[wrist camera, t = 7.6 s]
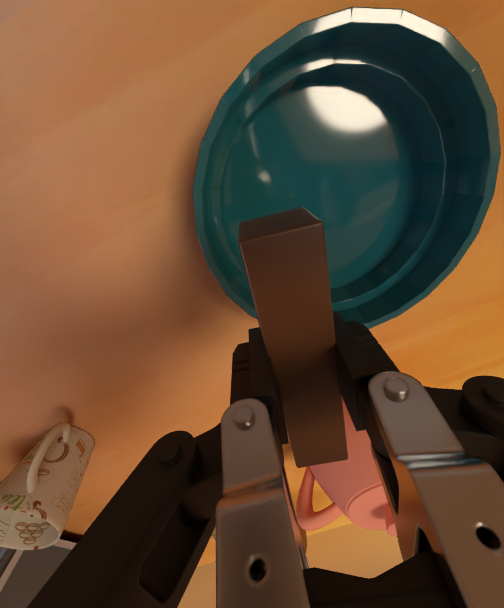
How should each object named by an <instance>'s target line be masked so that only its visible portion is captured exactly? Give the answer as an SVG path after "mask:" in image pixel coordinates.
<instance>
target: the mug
mask: <svg viewBox="0 0 504 608" xmlns="http://www.w3.org/2000/svg"><path fill="white" fill-rule="evenodd" d="M93 448H94V440H93V438H92V437H91V436H90V435H89V434H88V433H87V432H85V431H83V430H81V429H79V428H76V427H72V426H71V425H70V424H69V423H67V422H60V423H58V424H57V425H55V426H54V427H53V428H52V429H51V430H49V431H48V432H47V433H46V434H45V435H44V437H43V438H42V439H41V440H40V441H39V442H38V443H37V444H36V445H35V446H34V447H33V449H32V450H31V451H30V452H29V453H28V454H27V455H26V456H25V457H24V458H23V460H22V461H21V462H20V463H19V464H18V465H17V466H16V467H15V468H14V469H13V470H12V472H11V473H10V474H9V475H8V476H7V477H6V478H5V479H4V480H3V481H2V482H1V484H0V546H1V547H5V548H11V549H18V550H36V549H42V548H46V547H49V546H51V545H53V544H55V543H56V542H57V541H58V540H59V538H60V536H61V534H62V532H63V530H64V527H65V524H66V522H67V519H68V516H69V513H70V511H71V508H72V505H73V503H74V500H75V497H76V494H77V492H78V489H79V486H80V484H81V481H82V478H83V476H84V473H85V470H86V467H87V465H88V462H89V459H90V457H91V454H92V451H93Z"/></svg>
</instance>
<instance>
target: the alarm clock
mask: <svg viewBox="0 0 504 608" xmlns="http://www.w3.org/2000/svg"><path fill="white" fill-rule="evenodd" d="M76 544H77V543H73V542H70V541H66V540H62V539H59V540H58V541H57V542H56V543H55V544H53V545H51V546H49V547H46V548H42V549H36V550H18V549H11V548H5V547H2V548H1V550H0V608H27V606H28V605H29V604H30V603H31V601H32V600H33V599H34V597H35V596H36V595H37V594H38V592H39V591H40V590H41V588H42V587H43V586H44V585H45V583H46V582H47V581H48V580H49V578H50V577H51V576H52V574H53V573H54V572H55V571H56V569H57V568H58V567H59V565H60V564H61V563H62V562H63V560H64V559H65V558H66V556H67V555H68V554H69V553H70V551H71V550H72V549H73V547H74V546H75V545H76Z"/></svg>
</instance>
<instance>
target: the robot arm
mask: <svg viewBox="0 0 504 608" xmlns="http://www.w3.org/2000/svg"><path fill="white" fill-rule="evenodd" d="M333 320H334V329H335V339H336V344H335V347H336V356H337V366H338V375H339V384H340V393H341V396H342V398H343V401H344V403H345V405H346V408H347V410H348V413H349V415H350V417H351V420H352V422H353V424H354V427H355V429H356V431H362V430H366V432H367V434H368V436H369V438H370V441H371V452H372V455H373V458H374V461H375V464H376V467H377V470H378V473H379V477H380V480H381V483H382V486H383V489H384V492H385V495H386V498H387V501H388V504H389V507H390V510H391V513H392V516H393V519H394V523H395V527H396V532H397V537H398V542H399V547H400V550H401V554H402V558H403V561H404V562H402V563H400V564H399V565H397V566H395V567H393V568H391V569H390V570H388V571H386V572H384V573H382V574H381V575H379V576H377V577H375V578H370V579H368V578H362V577H357V576H353V575H348V574H343V573H338V572H334V571H329V570H324V569H319V568H315V567H314V568H309V566H308V562H307V558H306V554H305V550H304V546H303V542H302V539H301V535H300V530H299V526H298V522H297V518H296V514H295V510H294V505H293V501H292V497H291V493H290V489H289V484H288V480H287V476H286V472H285V468H284V456H283V449H282V444H287V443H289V441H288V435H287V429H286V423H285V417H284V411H283V405H282V401H281V397H280V393H279V389H278V385H277V381H276V377H275V373H274V369H273V365H272V361H271V358H270V357H268V356H267V352H266V349H265V345H264V341H263V337H262V333H261V330H260V327H258V328H253V329H249V342H247V343H242V344H238V346H237V347H236V349H235V351H234V352H233V360H232V364H233V365H232V379H231V398H230V406H229V407H228V408H227V409H226V411H225V412H224V414H223V416H222V419H221V422H220V423H219V424H218V425H217V426H216V427H214V428H213V429H211V430H209V431H207V432H205V433H203V434H201V435H199V436H197V437H195V438H193V436H192V435H191V434H190V433H188V432H186V431H174V432H171V433H169V434H167V435H165V436H163V437H162V438H160V439H159V440H158V441H157V442H156V443H155V444H154V445H153V446H152V448H151V449H150V450H149V451H148V453H147V454H146V455H145V457H144V458H143V459H142V460H141V462H140V463H139V464H138V465H137V467H136V468H135V469H134V471H133V472H132V473H131V474H130V476H129V477H128V478H127V480H126V481H125V482H124V483H123V485H122V486H121V487H120V489H119V490H118V491H117V492H116V494H115V495H114V496H113V498H112V499H111V500H110V501H109V503H108V504H107V505H106V506H105V508H104V509H103V510H102V512H101V513H100V514H99V515H98V517H97V518H96V519H95V521H94V522H93V523H92V524H91V526H90V527H89V528H88V530H87V531H86V532H85V533H84V535H83V536H82V537H81V539H80V540H79V541H78V542H77V544H76V545H75V546H74V547H73V549H72V550H71V551H70V553H69V554H68V555H67V556H66V558H65V559H64V560H63V562H62V563H61V564H60V565H59V567H58V568H57V569H56V571H55V572H54V573H53V574H52V576H51V577H50V578H49V580H48V581H47V582H46V583H45V585H44V586H43V587H42V588H41V590H40V591H39V592H38V594H37V595H36V596H35V597H34V599H33V600H32V601H31V603H30V604H29V605H28V606H27V608H177V607H178V605H179V602H180V600H181V598H182V596H183V594H184V592H185V590H186V588H187V586H188V583H189V581H190V579H191V577H192V575H193V573H194V571H195V569H196V567H197V565H198V562H199V560H200V558H201V556H202V554H203V552H204V550H205V548H206V546H207V543H208V541H209V539H210V537H211V535H212V533H213V531H214V529H215V527H216V608H504V379H503V378H499V377H494V376H476V377H472V378H470V379H468V380H467V381H465V383H464V384H463V386H462V390H454V389H439V388H430V387H425V386H423V385H422V384H421V383H420V382H419V381H418V380H417V379H415V378H414V377H412V376H410V375H407V374H405V373H401V372H400V371H399V370H398V368H397V367H396V366H395V364H394V363H393V362H392V360H391V359H390V358H389V356H388V355H387V354H386V352H385V351H384V350H383V348H382V347H381V346H380V344H378V342H377V340H376V339H375V338H374V337H373V335H372V334H371V332H370V331H369V330H368V328H367V327H366V326H365V325H363V324H361V323H359V322H358V321H356V320H352V321H348V322H346V321H345V320H344V318H343V317H342V315H341V314H340V312H339V311H333Z"/></svg>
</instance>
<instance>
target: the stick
mask: <svg viewBox="0 0 504 608" xmlns="http://www.w3.org/2000/svg"><path fill="white" fill-rule="evenodd" d="M238 246H239V250H240V254H241V257H242V261H243V265H244V269H245V273H246V276H247V280H248V284H249V288H250V292H251V295H252V299H253V303H254V307H255V311H256V314H257V318H258V322H259V326H260V330H261V333H262V337H263V341H264V345H265V349H266V352H267V356H268V357H270V358H271V361H272V365H273V369H274V373H275V377H276V381H277V385H278V389H279V393H280V397H281V401H282V405H283V411H284V417H285V423H286V428H287V432H288V436H289V440H290V444H291V447H292V451H293V455H294V459H295V463H296V466H297V467H298V468H301V467H307V466H313V465H319V464H325V463H331V462H337V461H343V460H347V459H348V450H347V441H346V432H345V422H344V413H343V404H342V396H341V393H340V384H339V375H338V366H337V356H336V347H335V344H336V339H335V329H334V320H333V311H332V301H331V292H330V283H329V273H328V264H327V255H326V246H325V236H324V227H323V222H322V221H321V220H320V219H319V218H317V217H316V216H315V215H313V214H312V213H311V212H309V211H308V210H307V209H305V208H304V207H300V208H296V209H292V210H288V211H284V212H280V213H276V214H272V215H268V216H264V217H260V218H256V219H252V220H248V221H244V222H241V223H239V235H238Z"/></svg>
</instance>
